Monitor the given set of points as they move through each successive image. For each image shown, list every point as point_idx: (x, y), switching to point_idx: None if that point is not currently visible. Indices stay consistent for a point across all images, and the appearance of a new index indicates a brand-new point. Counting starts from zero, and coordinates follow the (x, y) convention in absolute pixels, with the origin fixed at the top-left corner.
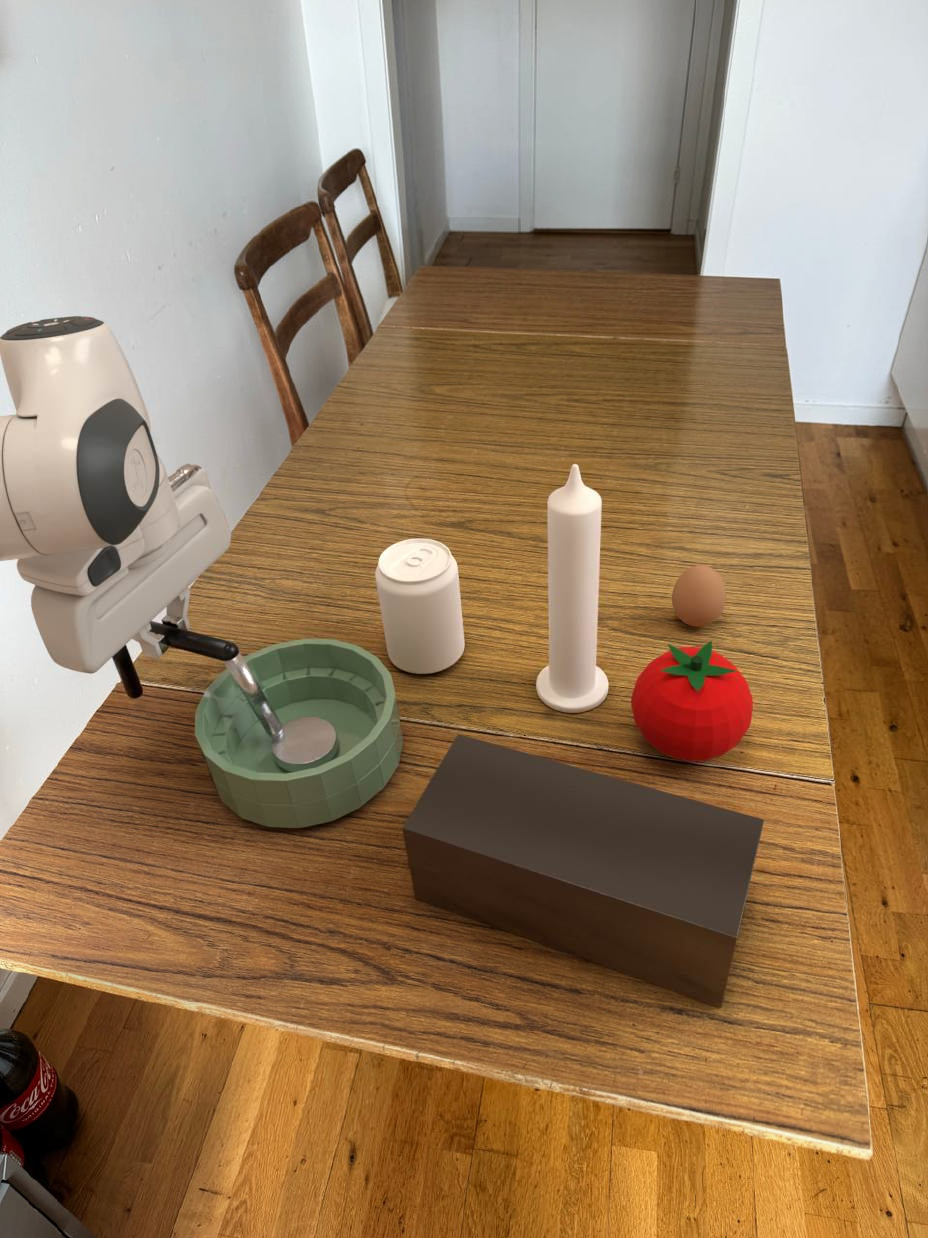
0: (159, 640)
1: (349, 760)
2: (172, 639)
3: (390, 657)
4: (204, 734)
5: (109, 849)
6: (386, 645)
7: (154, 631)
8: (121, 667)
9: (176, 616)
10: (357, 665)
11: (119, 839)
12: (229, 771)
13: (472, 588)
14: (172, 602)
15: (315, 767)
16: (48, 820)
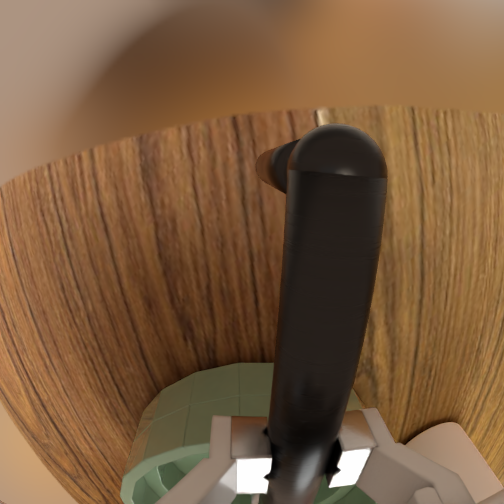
0: (239, 493)
1: None
2: (266, 495)
3: (411, 446)
4: (150, 469)
5: (38, 310)
6: (425, 443)
7: (282, 459)
8: (266, 178)
9: (362, 473)
10: (363, 494)
11: (51, 314)
12: (122, 500)
13: (499, 421)
14: (402, 484)
15: None
16: (28, 200)
